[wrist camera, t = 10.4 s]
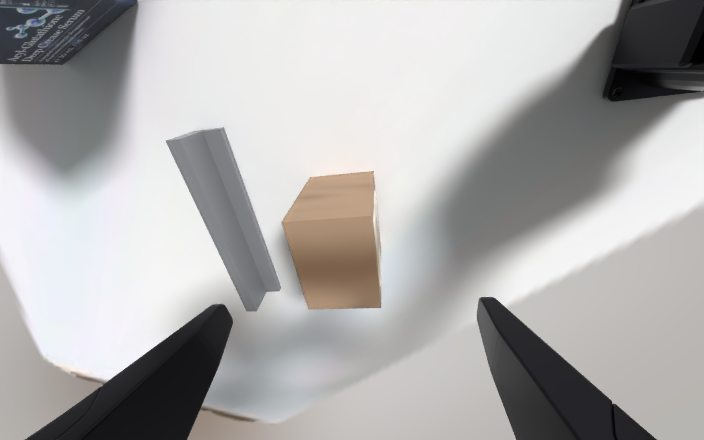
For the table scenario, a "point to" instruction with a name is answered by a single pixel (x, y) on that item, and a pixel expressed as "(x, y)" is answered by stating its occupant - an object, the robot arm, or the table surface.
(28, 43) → the box
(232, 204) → the rail
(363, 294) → the tea box
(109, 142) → the table surface
